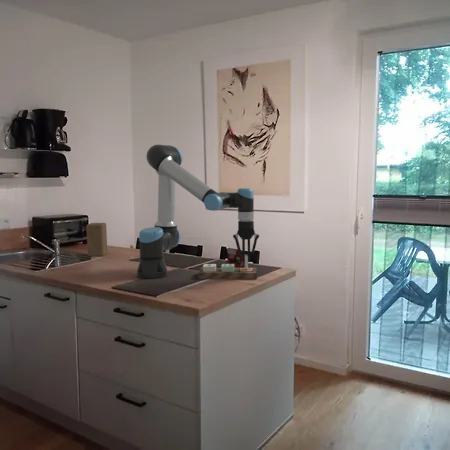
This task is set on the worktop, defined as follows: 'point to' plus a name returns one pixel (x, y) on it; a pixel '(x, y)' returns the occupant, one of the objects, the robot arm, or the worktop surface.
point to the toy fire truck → (235, 258)
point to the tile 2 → (227, 268)
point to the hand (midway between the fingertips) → (246, 268)
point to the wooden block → (97, 239)
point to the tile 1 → (209, 268)
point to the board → (227, 274)
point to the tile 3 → (246, 270)
